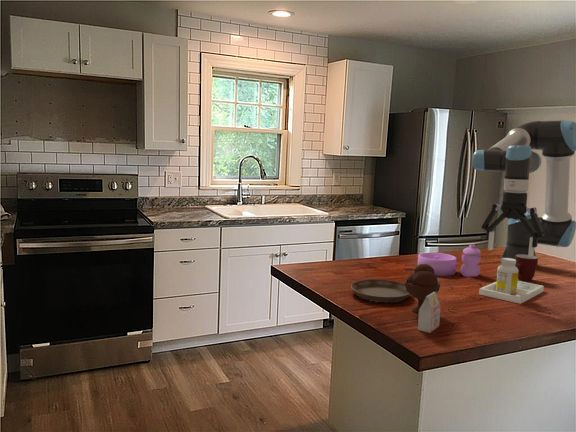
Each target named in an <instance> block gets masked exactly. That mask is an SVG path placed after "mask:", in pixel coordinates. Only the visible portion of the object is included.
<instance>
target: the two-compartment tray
mask: <svg viewBox="0 0 576 432" xmlns="http://www.w3.org/2000/svg"><path fill="white" fill-rule="evenodd" d="M496 282H497V280H496V281H494V282H492V283H489V284H487V285H484V286H483V287H480V288H478V289H479V290H478V291H479V292H478V295H480V296H484V297H489V298H493V299H498V300H503V301H506V302H511V303H515V304H519V305H520V304H523V303H525V302H527V301H529V300H530V299H533V298H534V297H536V296H538V295H540V294H542V293H543V292H544V288H545V285H542V284H541V285H540V284H535V283H532V282H528V281H522V280H518V284H524V285H527V286H529V287H530V291H529V290H525V289H520V288H517V294H516V296H514V295H510V294H505V293H501V292H496Z"/></svg>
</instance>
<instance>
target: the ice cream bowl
mask: <svg viewBox="0 0 576 432" xmlns="http://www.w3.org/2000/svg"><path fill="white" fill-rule="evenodd" d="M413 270H414V272H412V273H410V274H409V275H408V277H407V278H405V279H404V284H405V288H406V290H407V292H408V293H409V294H410V295H409V296H411V297H412V298H415V299H417V306H415V307H412V308H411V310H412V312H411V313H413V314H415V313H416V314H415V315H419V309H420V307H421V306H422V304H423V302H424V300H425V298H426V296H428V295H430V294H431V293H433V292H436V295H437V294H438V293H439V291H440V288H441V283H440V282H439V281H438V278H437V275H434V269H433V268H432V267H431V266H430V265H428V264H420V265H418V264H417V266H415V268H414V269H413Z"/></svg>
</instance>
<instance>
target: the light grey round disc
mask: <svg viewBox="0 0 576 432" xmlns="http://www.w3.org/2000/svg"><path fill="white" fill-rule="evenodd" d="M517 288H520V289H525V290H529V291H530V287H529V286H527V285H524V284H518V283H517Z"/></svg>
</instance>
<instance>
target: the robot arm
mask: <svg viewBox="0 0 576 432" xmlns="http://www.w3.org/2000/svg"><path fill="white" fill-rule="evenodd" d="M533 150H538V151H539V150H540V151H541V153H542V154H541V155H542V156H543V157H544V158H545V190H544V191H545V192H544V193H545V194H544V195H545V197H544V198H545V199H544V212H543V213H542V214H541V215H540V217H539V215H538V213H537V207H535V206H534V207H528V206H527V201H528V193H527V192H528V190H529V181H530V174H531V173H534V172H535V171H538V169H540V167H541V165H542V158H541V156H540V155H539V154H538V153H537V152H536V151H533ZM575 152H576V122H575V121H573V120H572V121H571V120H535V121H529V122H525V123H523V124H520V125H518V126H516V127H514V128H513V129H511V130H509V132H508V133H507V134H506V136H505V137H503V139H501V140H499V141H498V142H496V144H494V145H492V146H490V147H489V148H488V149H478V150H475V151H474V153H473V155H472V159H471V162H472V164H471V165H472V167H473V169H474V170H476V171H483V172H487V171H488V172H504V180H503V190H504V191H503V193H502V204H499V203H493V204H492V206H491V210H490V212H489V213H488V215H487V216H486V219H485V221H483V223H482V225H481V229H482V230H485V231H486V236H485V239H486V241H488V242H487V243H488V244H487V251H492V250H494V242H495V231H494V229H495V228H497V226H499V225H500V224H501V222H503V221H504V220H505V219H506V218H507V219H508V223H507V232H506V244H505V248H504V250H503V251H502V253H501V258H500V260H501V259H502V258H511V259H515V255H518V254H524V255H528V257H533V256H536V257H537V254H536V250H535V248H537V247H538V246H539V245H545V246H551V247H552V246H553V247H557V248H558V247H559V248H560V247H561V248H568V247H569V246H570V245H571V244H572V242H573V239H574V237H575V234H576V221H575V220H572V218H573V217H572V216H573V215H572V214H571V213H569V193H570V192H569V191H570V188H569V187H570V167H571V166H570V165H571V158H572V157H573V156H574V155H575ZM500 210H501V212H502V213H501V214H500V215H499V216H498V217H497V218H496V219H495V220H494V221H493V222H492V220H493V219H494V218H495V216H496V214H497V213H498V211H500ZM491 222H492V223H491Z"/></svg>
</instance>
